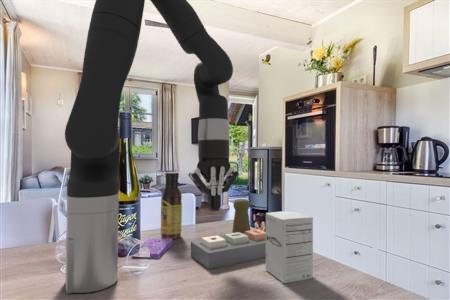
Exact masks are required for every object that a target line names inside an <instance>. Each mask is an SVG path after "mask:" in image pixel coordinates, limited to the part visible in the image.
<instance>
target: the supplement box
mask: <svg viewBox="0 0 450 300" xmlns="http://www.w3.org/2000/svg"><path fill="white" fill-rule="evenodd" d="M313 223H314V217H313V216H309V215H306V214H304V213H300V212H297V211H293V210H285V211H284V210H283V211H274V212H273V211H271V212H265V232H266V257H265V271H267V272H269V273H270V274H271V275H273V276H274V277H275V278H277V279H278V280H279V281H280V282H281V283H283V284H287V283H289V284H290V283H293V282H299V281H306V280H310V279H313V278H314V268H313V267H314V265H313V263H314V259H313V257H314V256H313V255H314V249H313V248H314V245H313V244H314V243H313V242H314V236H313V235H314V231H313V230H314V228H313V227H314V224H313Z"/></svg>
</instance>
